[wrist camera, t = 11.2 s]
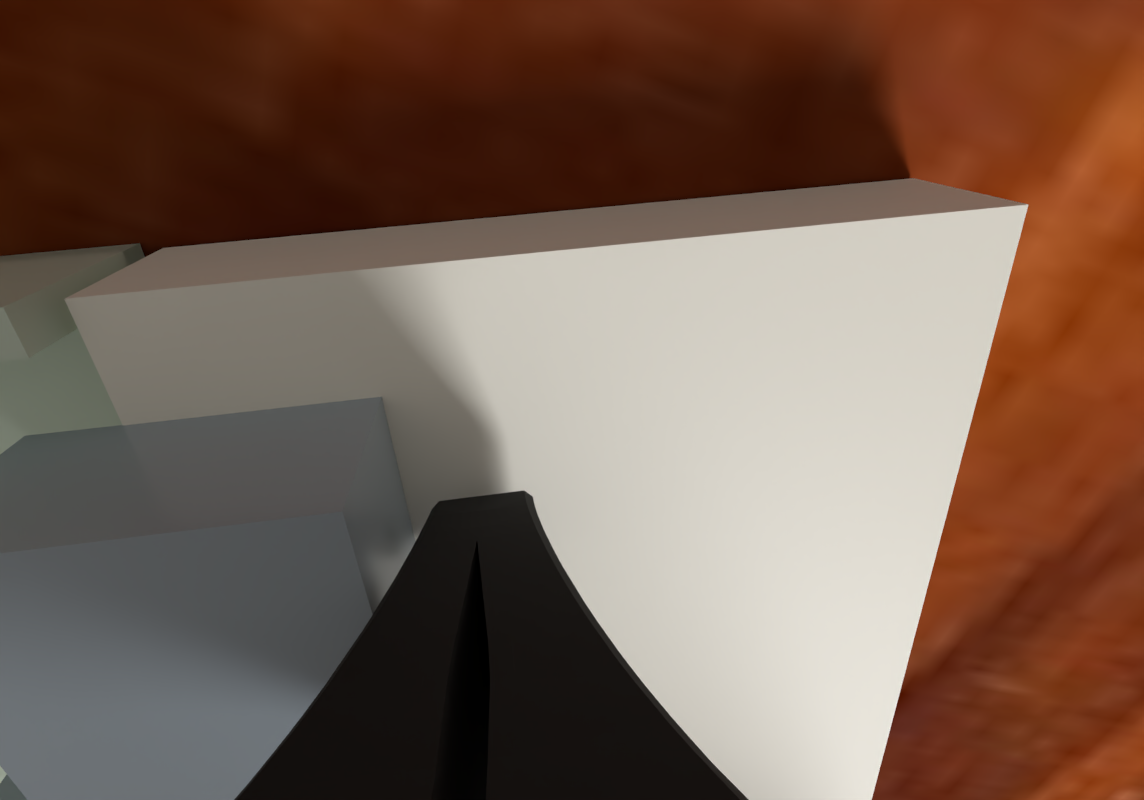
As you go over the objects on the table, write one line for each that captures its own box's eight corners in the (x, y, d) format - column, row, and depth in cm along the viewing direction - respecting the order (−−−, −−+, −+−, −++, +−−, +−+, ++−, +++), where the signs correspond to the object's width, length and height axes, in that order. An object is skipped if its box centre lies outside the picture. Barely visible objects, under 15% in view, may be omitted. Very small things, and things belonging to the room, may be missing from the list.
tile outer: (437, 636, 10) (423, 787, 8) (156, 675, 10) (63, 842, 8) (381, 396, 8) (342, 510, 6) (25, 435, 8) (-155, 572, 6)
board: (809, 766, 18) (854, 863, 16) (382, 837, 17) (366, 952, 15) (913, 178, 10) (1028, 204, 8) (163, 247, 9) (63, 299, 7)
